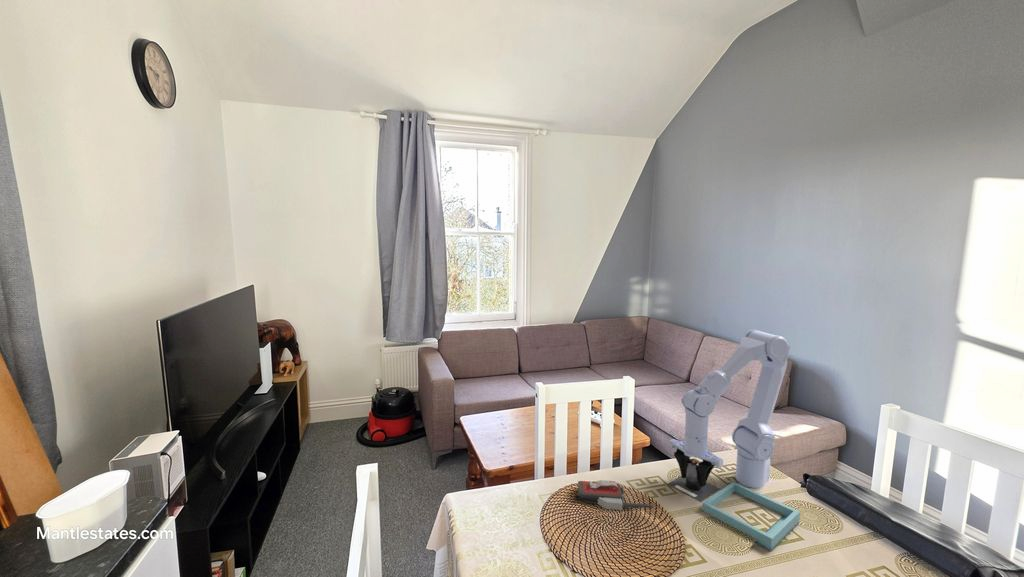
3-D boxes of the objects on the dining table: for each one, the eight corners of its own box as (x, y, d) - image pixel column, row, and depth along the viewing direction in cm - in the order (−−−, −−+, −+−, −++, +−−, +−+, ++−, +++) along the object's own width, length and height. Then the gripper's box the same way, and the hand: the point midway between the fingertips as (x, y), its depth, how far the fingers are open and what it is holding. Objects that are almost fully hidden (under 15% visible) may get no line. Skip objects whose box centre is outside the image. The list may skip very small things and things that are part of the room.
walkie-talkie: (574, 508, 107) (654, 514, 105) (575, 492, 107) (654, 498, 104) (573, 488, 116) (647, 494, 113) (574, 474, 115) (647, 479, 113)
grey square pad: (686, 476, 122) (686, 472, 122) (719, 492, 114) (720, 488, 114) (666, 487, 116) (666, 483, 116) (700, 505, 108) (700, 501, 108)
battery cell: (690, 480, 118) (691, 454, 117) (703, 487, 114) (705, 460, 114) (682, 485, 115) (683, 459, 114) (696, 492, 112) (697, 465, 111)
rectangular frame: (732, 491, 114) (733, 481, 114) (799, 523, 101) (800, 511, 101) (702, 513, 104) (702, 502, 104) (771, 551, 92) (772, 538, 91)
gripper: (664, 428, 117) (662, 474, 118) (714, 448, 105) (711, 499, 106) (678, 422, 121) (675, 466, 122) (728, 441, 109) (725, 489, 111)
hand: (693, 481), depth 115 cm, fingers open, 5 cm apart
